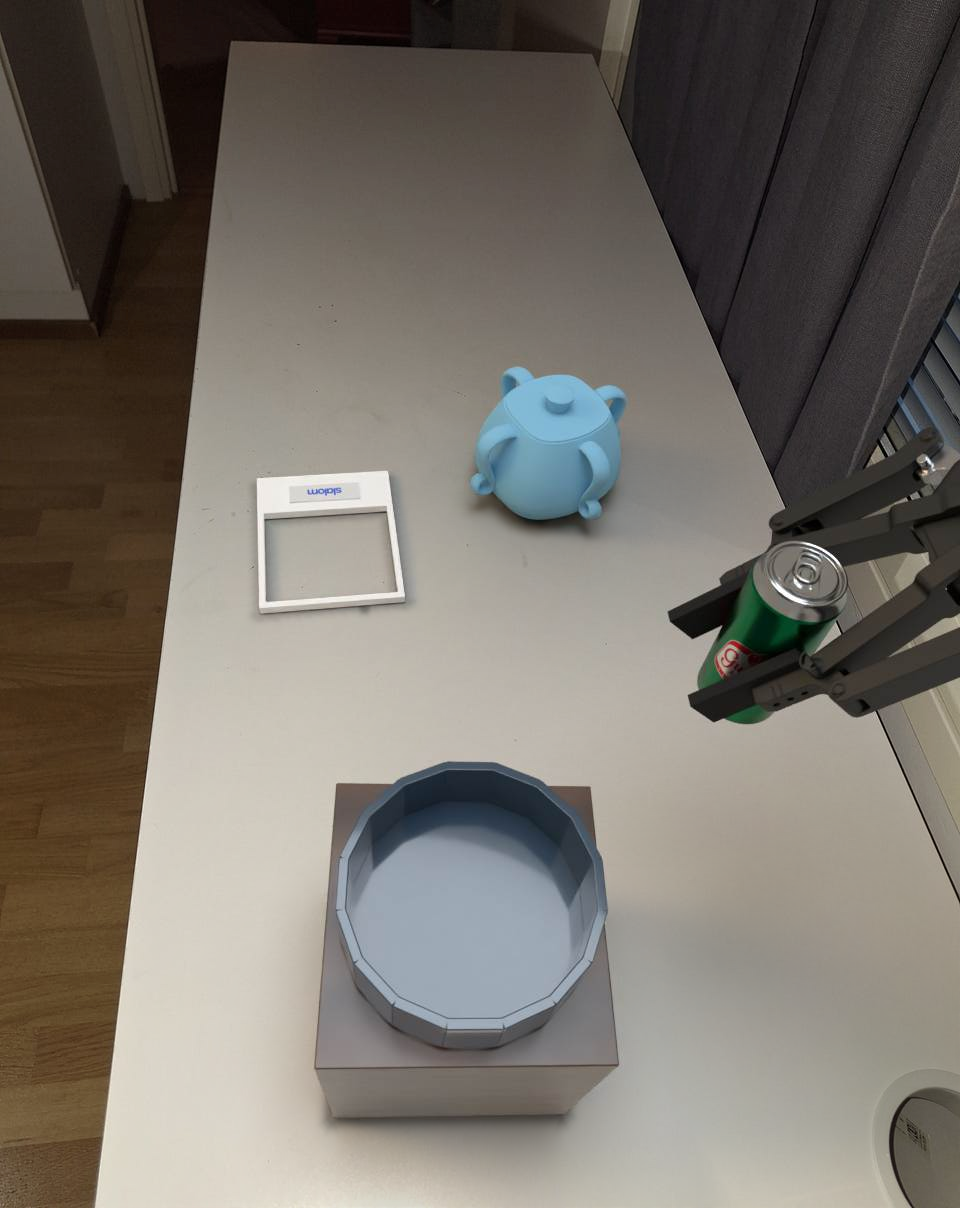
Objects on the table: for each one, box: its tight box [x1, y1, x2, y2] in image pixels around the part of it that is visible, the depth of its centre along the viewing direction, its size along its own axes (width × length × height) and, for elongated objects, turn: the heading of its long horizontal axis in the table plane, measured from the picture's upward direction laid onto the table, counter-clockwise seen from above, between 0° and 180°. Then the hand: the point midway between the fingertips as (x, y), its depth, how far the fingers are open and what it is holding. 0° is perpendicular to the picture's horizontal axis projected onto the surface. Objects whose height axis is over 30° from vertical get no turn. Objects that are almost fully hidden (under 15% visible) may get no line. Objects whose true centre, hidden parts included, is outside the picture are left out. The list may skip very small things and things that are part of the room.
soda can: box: [696, 541, 849, 725], centre depth 51 cm, size 5×5×12 cm
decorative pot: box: [469, 366, 627, 521], centre depth 100 cm, size 16×16×14 cm
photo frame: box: [256, 470, 406, 614], centre depth 97 cm, size 15×1×18 cm
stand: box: [313, 782, 620, 1119], centre depth 63 cm, size 17×17×20 cm
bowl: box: [335, 760, 609, 1049], centre depth 53 cm, size 15×15×5 cm
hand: (690, 665), depth 53 cm, fingers closed on soda can, 5 cm apart
